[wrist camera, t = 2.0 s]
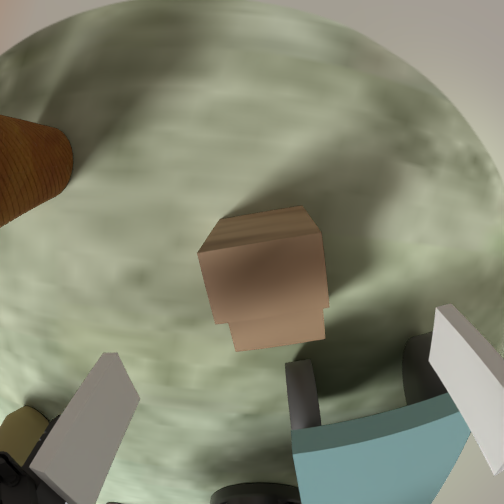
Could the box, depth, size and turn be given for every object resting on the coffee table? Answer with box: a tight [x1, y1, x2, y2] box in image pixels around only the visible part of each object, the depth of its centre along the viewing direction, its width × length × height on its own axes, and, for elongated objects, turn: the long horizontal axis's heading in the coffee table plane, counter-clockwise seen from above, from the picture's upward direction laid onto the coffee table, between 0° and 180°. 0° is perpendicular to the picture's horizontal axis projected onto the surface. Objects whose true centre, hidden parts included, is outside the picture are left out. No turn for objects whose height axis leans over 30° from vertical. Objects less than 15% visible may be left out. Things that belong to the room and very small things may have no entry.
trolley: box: [285, 332, 471, 504], centre depth 19 cm, size 22×13×18 cm, turn 10°
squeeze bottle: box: [0, 406, 49, 467], centre depth 24 cm, size 8×8×18 cm
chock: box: [197, 205, 329, 352], centre depth 20 cm, size 8×6×8 cm
